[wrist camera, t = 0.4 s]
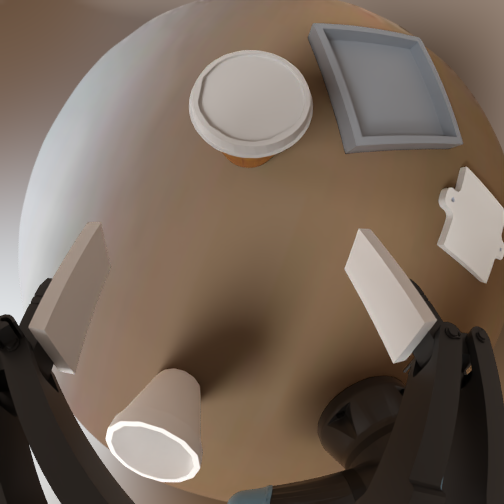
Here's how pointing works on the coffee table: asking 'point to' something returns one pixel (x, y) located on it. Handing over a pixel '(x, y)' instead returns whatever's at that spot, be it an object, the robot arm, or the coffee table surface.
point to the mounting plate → (472, 225)
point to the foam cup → (161, 429)
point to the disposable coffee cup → (251, 106)
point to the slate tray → (383, 89)
